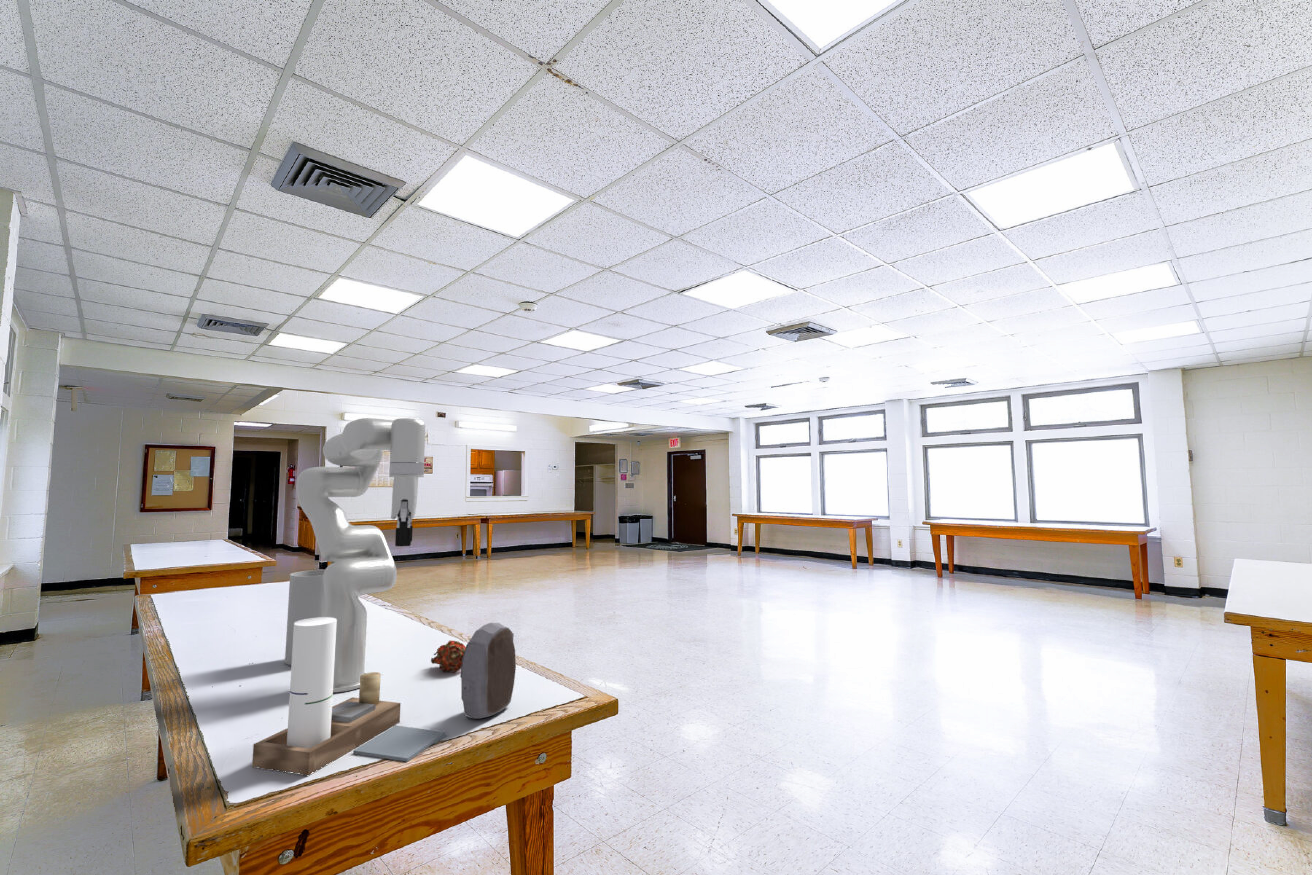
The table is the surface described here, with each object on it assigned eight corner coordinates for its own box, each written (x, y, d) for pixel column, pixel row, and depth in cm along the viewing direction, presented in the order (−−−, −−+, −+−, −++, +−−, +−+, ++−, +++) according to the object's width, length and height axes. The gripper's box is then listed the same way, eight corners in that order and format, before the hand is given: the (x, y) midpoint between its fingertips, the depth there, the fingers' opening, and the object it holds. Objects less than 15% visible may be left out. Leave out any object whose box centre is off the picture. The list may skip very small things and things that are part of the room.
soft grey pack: (479, 727, 124) (482, 631, 125) (447, 721, 127) (451, 627, 128) (519, 702, 138) (522, 616, 139) (490, 698, 141) (492, 613, 142)
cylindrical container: (298, 747, 113) (305, 617, 115) (336, 746, 114) (343, 616, 116) (277, 765, 106) (286, 625, 108) (318, 764, 107) (326, 625, 109)
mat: (353, 753, 111) (353, 750, 111) (395, 728, 123) (395, 725, 123) (407, 761, 108) (407, 758, 108) (445, 734, 120) (445, 731, 120)
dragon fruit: (460, 681, 156) (437, 678, 164) (482, 656, 162) (458, 654, 170) (442, 659, 154) (419, 657, 161) (465, 634, 160) (442, 633, 167)
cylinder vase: (318, 667, 162) (323, 576, 164) (274, 667, 162) (280, 576, 164) (343, 654, 174) (348, 570, 176) (302, 653, 174) (307, 569, 176)
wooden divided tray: (252, 766, 106) (255, 710, 106) (351, 715, 129) (353, 669, 130) (308, 775, 103) (311, 717, 103) (399, 721, 126) (401, 674, 127)
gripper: (391, 471, 144) (388, 541, 143) (386, 469, 128) (383, 548, 127) (424, 471, 147) (421, 540, 145) (423, 470, 131) (420, 547, 129)
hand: (403, 544), depth 136 cm, fingers open, 9 cm apart
